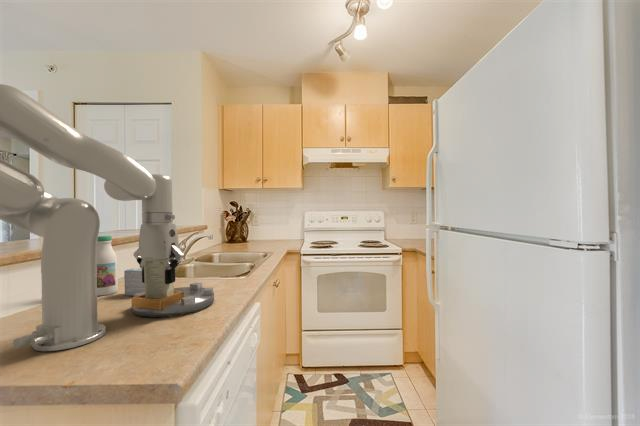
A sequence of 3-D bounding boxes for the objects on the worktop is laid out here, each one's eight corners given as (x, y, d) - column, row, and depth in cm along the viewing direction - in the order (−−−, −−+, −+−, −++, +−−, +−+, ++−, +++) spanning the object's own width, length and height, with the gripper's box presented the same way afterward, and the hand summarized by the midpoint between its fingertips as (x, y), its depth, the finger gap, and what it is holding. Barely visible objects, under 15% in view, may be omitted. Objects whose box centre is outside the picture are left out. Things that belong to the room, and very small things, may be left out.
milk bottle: (96, 291, 107) (95, 235, 106) (121, 289, 109) (120, 234, 109) (86, 297, 99) (85, 237, 99) (113, 295, 102) (112, 236, 101)
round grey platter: (180, 320, 77) (180, 302, 77) (112, 313, 82) (112, 296, 82) (227, 295, 98) (227, 281, 98) (171, 291, 104) (171, 278, 104)
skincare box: (174, 296, 86) (173, 255, 86) (166, 301, 82) (166, 257, 82) (152, 297, 86) (151, 255, 86) (143, 302, 82) (142, 257, 82)
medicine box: (154, 292, 105) (154, 267, 105) (146, 296, 100) (145, 270, 100) (133, 292, 105) (133, 267, 105) (124, 295, 101) (123, 270, 101)
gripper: (193, 218, 85) (194, 280, 85) (143, 218, 89) (144, 277, 90) (174, 219, 78) (175, 287, 78) (120, 219, 82) (122, 283, 82)
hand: (158, 281), depth 84 cm, fingers closed on skincare box, 7 cm apart
